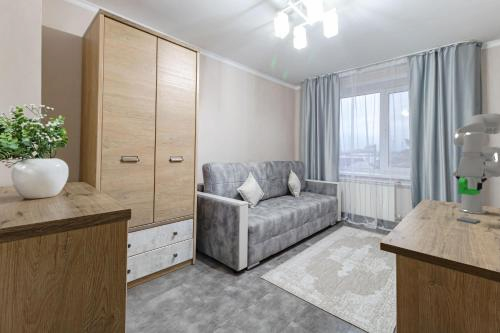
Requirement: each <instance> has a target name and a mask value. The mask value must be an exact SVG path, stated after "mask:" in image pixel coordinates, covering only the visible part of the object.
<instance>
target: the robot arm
mask: <svg viewBox="0 0 500 333" xmlns="http://www.w3.org/2000/svg"><path fill="white" fill-rule="evenodd" d="M497 134H500V114H499V113H497V112H496V113H495V112H494V113H485V114H483V113H482V114H475V115H472V116H471V117H469V118H468V121H467V123H466V124H464V126H462V127H459V128H457V129H456V130H455V132H454V135H453V139H452V140H453V141H452V142H453V144H454V146H456V147H462V157H460V161H459V164H458V169H457V170H455V171H454V172H453V173H452V175H453V176H454V177H455V178H456V179H457V180H458V181H459V180H460V179H461V178H465V179H467V180H468V188H475V189H477V190H478V191H479V190H480V194H476V195H467V194H461V204H460V205H461V206H459V207H457V210H458V211H459V212H463V213H468V214H475V215H485V214H487V210H484V209H483V207H484V206H483V205H484V193H485V191H484V190H485V184H484V183H485V182H486V181H487V180H490V179H491V178H500V147H499V146H487V144H488V143H489V142H490V135H497Z"/></svg>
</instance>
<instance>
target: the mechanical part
mask: <svg viewBox="0 0 500 333" xmlns="http://www.w3.org/2000/svg"><path fill="white" fill-rule="evenodd" d="M457 193H458V194H460V195H462V194H467V195H476V194H480V190H479V191H478V190H477V189H475V188H468V180H467V179H465V178H461V179H460V180H458V191H457Z"/></svg>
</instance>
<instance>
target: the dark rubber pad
mask: <svg viewBox="0 0 500 333" xmlns="http://www.w3.org/2000/svg"><path fill="white" fill-rule="evenodd" d="M456 221H458V222H463V223H467V224H474V225H475V224H478V223H480V222H481V220H480V219H477V218H471V217H466V216H461V217H458V218H456Z"/></svg>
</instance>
